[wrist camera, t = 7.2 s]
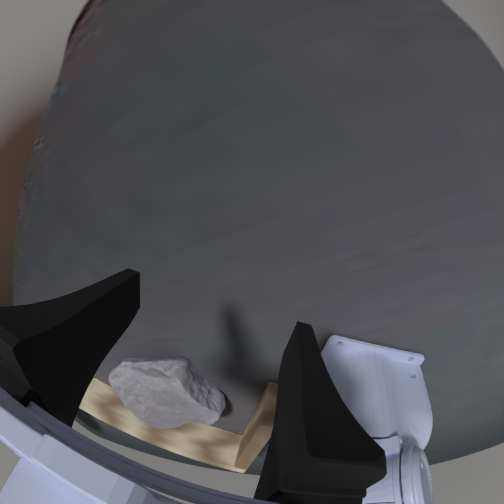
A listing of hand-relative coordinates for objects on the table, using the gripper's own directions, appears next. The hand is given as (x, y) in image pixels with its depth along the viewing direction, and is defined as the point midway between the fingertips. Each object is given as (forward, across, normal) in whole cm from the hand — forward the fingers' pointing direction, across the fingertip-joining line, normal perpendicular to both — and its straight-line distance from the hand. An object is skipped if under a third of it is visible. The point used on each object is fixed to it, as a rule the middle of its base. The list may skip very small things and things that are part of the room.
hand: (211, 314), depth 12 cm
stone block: (+9, +6, +20) cm, 22 cm away
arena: (+8, +5, +21) cm, 23 cm away
